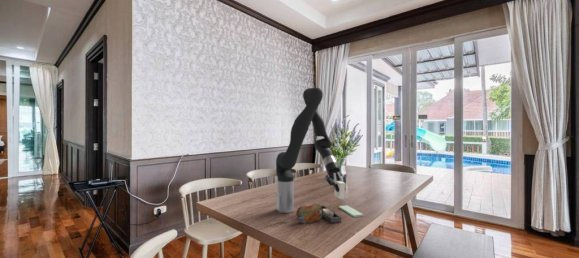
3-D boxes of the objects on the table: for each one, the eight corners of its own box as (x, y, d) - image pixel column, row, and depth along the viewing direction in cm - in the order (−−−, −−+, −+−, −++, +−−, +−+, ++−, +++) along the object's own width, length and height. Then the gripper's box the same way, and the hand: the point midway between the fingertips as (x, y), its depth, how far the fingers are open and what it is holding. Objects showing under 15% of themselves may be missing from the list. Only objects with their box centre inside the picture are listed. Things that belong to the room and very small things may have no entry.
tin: (298, 225, 120) (298, 207, 120) (295, 222, 123) (295, 205, 123) (323, 219, 127) (323, 203, 127) (320, 217, 129) (320, 201, 129)
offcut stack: (328, 219, 127) (328, 214, 127) (321, 213, 137) (321, 208, 137) (333, 219, 128) (333, 213, 128) (326, 213, 137) (326, 207, 137)
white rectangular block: (339, 199, 131) (340, 183, 131) (334, 196, 137) (334, 180, 137) (344, 198, 132) (345, 182, 132) (339, 195, 138) (339, 180, 138)
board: (354, 217, 130) (354, 215, 130) (339, 207, 146) (339, 206, 146) (363, 216, 132) (363, 214, 132) (347, 207, 147) (347, 205, 147)
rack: (331, 223, 122) (331, 218, 122) (315, 210, 141) (315, 206, 141) (341, 222, 124) (341, 217, 124) (323, 209, 142) (324, 205, 142)
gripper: (322, 161, 139) (332, 188, 128) (344, 161, 144) (355, 186, 132) (318, 169, 144) (327, 195, 133) (339, 168, 149) (349, 194, 137)
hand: (341, 190), depth 133 cm, fingers closed on white rectangular block, 3 cm apart
